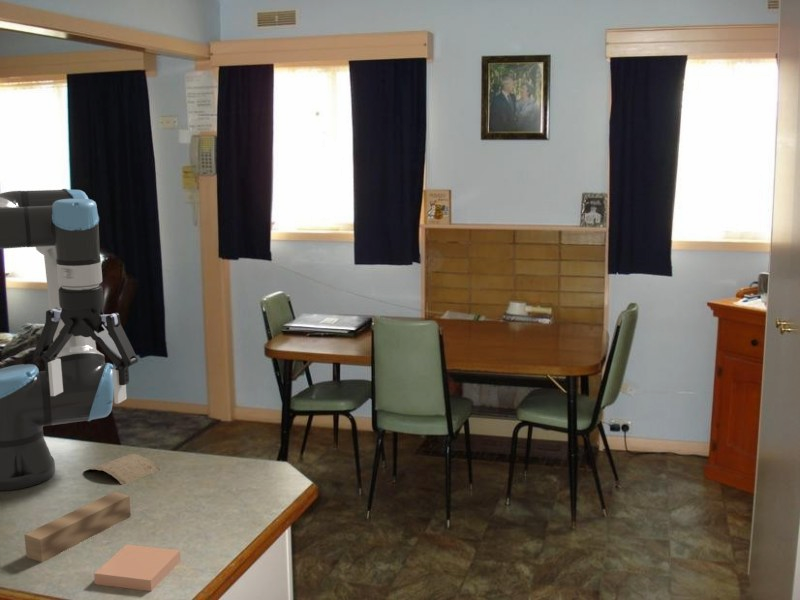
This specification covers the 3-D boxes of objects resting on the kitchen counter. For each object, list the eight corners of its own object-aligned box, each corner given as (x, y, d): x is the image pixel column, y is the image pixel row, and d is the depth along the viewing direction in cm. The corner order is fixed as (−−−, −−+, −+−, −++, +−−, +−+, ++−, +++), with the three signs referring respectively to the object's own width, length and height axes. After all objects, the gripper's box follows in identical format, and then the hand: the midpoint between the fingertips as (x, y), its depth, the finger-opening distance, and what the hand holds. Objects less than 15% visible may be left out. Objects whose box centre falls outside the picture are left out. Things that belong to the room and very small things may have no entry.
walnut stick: (115, 513, 164) (114, 491, 163) (130, 518, 162) (129, 495, 161) (26, 558, 146) (24, 534, 146) (42, 564, 145) (40, 539, 144)
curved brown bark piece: (163, 472, 184) (162, 460, 183) (125, 488, 176) (124, 476, 175) (118, 459, 191) (117, 448, 191) (80, 474, 183) (79, 462, 183)
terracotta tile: (126, 544, 147) (94, 573, 137) (180, 550, 145) (150, 580, 135) (127, 556, 147) (95, 586, 138) (180, 563, 145) (151, 593, 136)
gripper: (7, 285, 153) (17, 397, 158) (129, 294, 147) (136, 411, 151) (35, 277, 160) (44, 384, 165) (153, 286, 154) (159, 397, 158)
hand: (88, 397), depth 158 cm, fingers open, 13 cm apart
